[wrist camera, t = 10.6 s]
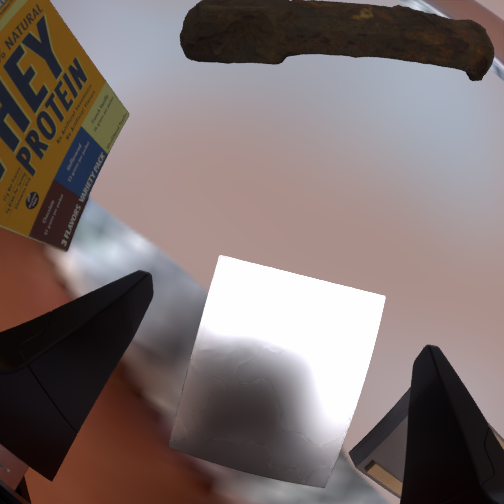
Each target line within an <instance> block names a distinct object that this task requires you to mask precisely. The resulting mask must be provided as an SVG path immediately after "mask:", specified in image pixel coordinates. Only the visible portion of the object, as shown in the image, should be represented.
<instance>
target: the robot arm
mask: <svg viewBox="0 0 504 504" xmlns="http://www.w3.org/2000/svg"><path fill="white" fill-rule="evenodd" d="M152 298H153V281H152V275H151V274H150V273H149V272H145V271H142V270H138V271H136V272H134V273H131V274H129V275H127V276H125V277H123V278H120V279H118V280H116V281H114V282H112V283H110V284H107V285H105V286H103V287H101V288H99V289H97V290H94V291H92V292H90V293H88V294H86V295H84V296H81V297H79V298H77V299H75V300H73V301H71V302H69V303H67V304H64V305H62V306H60V307H58V308H56V309H54V310H52V312H51V311H50V312H48V313H45V314H43V315H41V316H39V317H37V318H35V319H32V320H30V321H28V322H25V323H23V324H21V325H18V326H16V327H13V328H10V329H8V330H5V331H2V332H0V504H31V500H30V497H29V493H28V489H27V485H26V481H25V477H24V475H25V473H26V471H27V470H28V468H29V467H31V468H32V469H34V470H35V471H36V472H38V473H39V474H41V475H42V476H44V477H45V478H47V479H48V480H50V481H51V482H52V481H53V479H54V477H55V475H56V473H57V472H58V470H59V468H60V466H61V464H62V462H63V460H64V458H65V456H66V454H67V452H68V451H69V449H70V447H71V445H72V443H73V441H74V439H75V438H76V436H77V433H78V432H79V430H80V428H81V426H82V425H83V423H84V421H85V419H86V417H87V416H88V414H89V412H90V410H91V409H92V407H93V405H94V403H95V402H96V400H97V398H98V396H99V395H100V393H101V391H102V389H103V388H104V386H105V384H106V383H107V381H108V379H109V377H110V376H111V374H112V372H113V371H114V369H115V367H116V366H117V364H118V362H119V361H120V359H121V357H122V356H123V354H124V352H125V351H126V349H127V347H128V346H129V344H130V343H131V341H132V339H133V337H134V336H135V334H136V332H137V330H138V328H139V325H140V323H141V321H142V319H143V317H144V315H145V313H146V311H147V309H148V307H149V304H150V302H151V300H152ZM400 504H504V449H503V448H502V446H501V444H500V443H499V441H498V439H497V438H496V436H495V434H494V433H493V431H492V429H491V427H490V426H489V424H488V422H487V421H486V419H485V417H484V416H483V414H482V413H481V411H480V409H479V408H478V406H477V404H476V403H475V401H474V400H473V398H472V396H471V395H470V393H469V392H468V390H467V388H466V387H465V385H464V384H463V383H462V381H461V379H460V378H459V376H458V375H457V373H456V372H455V370H454V369H453V367H452V366H451V365H450V363H449V361H448V360H447V358H446V357H445V356H444V354H443V353H442V351H441V350H440V348H439V347H438V346H434V345H426V346H425V347H424V348H423V350H422V351H421V353H420V354H419V355H418V357H417V358H416V360H415V361H414V364H413V371H412V381H411V389H410V398H409V406H408V426H407V443H406V456H405V467H404V476H403V485H402V493H401V500H400Z"/></svg>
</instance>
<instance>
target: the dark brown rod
mask: <svg viewBox="0 0 504 504" xmlns="http://www.w3.org/2000/svg"><path fill="white" fill-rule="evenodd" d="M180 42H181V43H180V45H181V47H182V49H183V51H184V54H185V56H186V57H187V58H188V59H190V60H194V61H198V62H218V63H227V64H229V63H263V64H272V65H276V64H280V63H282V62H283V61H284V59H285V58H286V57H288V56H295V55H300V54H325V55H343V56H351V57H355V58H357V57H380V58H390V59H398V60H403V61H410V62H418V63H423V64H432V65H437V66H442V67H450V68H455V69H459V70H462V71H465V72H466V74H467V76H468V77H469V79H470V80H471V81H479V80H482V78H483V76H484V75H485V74H486V73H487V71H488V70H489V68H490V67H491V65H492V62H493V59H494V47H493V45H492V43H491V40H490V38H489V36H488V35H487V33H486V29H485V28H484V27H482V26H481V25H480V24H478V23H476V22H474V21H472V20H453V19H448V18H445V17H441V16H438V15H436V14H429V13H425V12H423V11H418V10H413V9H411V8H409V7H402V6H400V5H397V6H394V7H386V6H377V5H370V4H356V3H342V2H329V1H315V0H310V1H304V0H292V1H289V0H202V1H200V2H199V3H198V4H196V6H194V7H193V8H192V9H190V10H189V12H188V13H187V15H186V17H185V20H184V22H183V29H182V31H181V33H180Z"/></svg>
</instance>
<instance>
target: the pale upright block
mask: <svg viewBox="0 0 504 504" xmlns="http://www.w3.org/2000/svg"><path fill="white" fill-rule="evenodd" d="M384 301H385V296H382V295H378V294H374V293H369V292H366V291H362V290H358V289H354V288H350V287H345V286H342V285H337V284H333V283H329V282H325V281H321V280H317V279H313V278H309V277H305V276H301V275H297V274H293V273H289V272H285V271H281V270H277V269H273V268H269V267H266V266H262V265H258V264H254V263H250V262H245V261H242V260H238V259H234V258H230V257H226V256H223V255H220V256H219V259H218V262H217V266H216V269H215V273H214V276H213V280H212V283H211V287H210V290H209V294H208V297H207V301H206V304H205V308H204V312H203V315H202V319H201V322H200V326H199V330H198V333H197V337H196V341H195V344H194V348H193V352H192V356H191V359H190V363H189V367H188V371H187V374H186V378H185V382H184V386H183V390H182V394H181V398H180V402H179V405H178V409H177V413H176V417H175V421H174V425H173V429H172V434H171V438H170V442H169V446H168V447H170V448H172V449H175V450H178V451H180V452H183V453H186V454H189V455H191V456H194V457H197V458H200V459H203V460H206V461H209V462H212V463H216V464H219V465H222V466H226V467H229V468H232V469H236V470H240V471H243V472H247V473H251V474H255V475H259V476H263V477H267V478H272V479H276V480H281V481H286V482H291V483H297V484H302V485H308V486H314V487H321V488H325V486H326V484H327V481H328V479H329V477H330V474H331V472H332V470H333V467H334V465H335V462H336V460H337V457H338V455H339V452H340V450H341V447H342V445H343V442H344V439H345V437H346V434H347V431H348V428H349V426H350V423H351V420H352V417H353V414H354V411H355V408H356V405H357V402H358V399H359V396H360V393H361V390H362V386H363V383H364V380H365V376H366V373H367V370H368V366H369V362H370V359H371V355H372V351H373V348H374V344H375V340H376V336H377V332H378V328H379V324H380V320H381V315H382V310H383V306H384Z"/></svg>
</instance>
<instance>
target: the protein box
mask: <svg viewBox="0 0 504 504" xmlns="http://www.w3.org/2000/svg"><path fill="white" fill-rule="evenodd" d="M128 117H129V112H128V111H127V110H126V108H125V107H124V106H123V104H122V103H121V101H120V100H119V99H118V97H117V96H116V94H115V93H114V92H113V90H112V89H111V87H110V86H109V85H108V83H107V82H106V80H105V79H104V78H103V76H102V75H101V74H100V72H99V71H98V69H97V68H96V66H95V65H94V64H93V62H92V61H91V59H90V58H89V56H88V55H87V54H86V52H85V51H84V49H83V48H82V46H81V45H80V43H79V42H78V41H77V39H76V38H75V36H74V35H73V34H72V32H71V31H70V29H69V28H68V26H67V25H66V24H65V22H64V21H63V19H62V18H61V16H60V15H59V13H58V12H57V10H56V9H55V7H54V6H53V5H52V3H51V2H50V0H0V227H1V228H4V229H6V230H9V231H11V232H14V233H16V234H19V235H22V236H24V237H27V238H30V239H33V240H35V241H38V242H41V243H43V244H46V245H49V246H51V247H54V248H56V249H59V250H62V251H67V249H68V246H69V243H70V240H71V237H72V235H73V232H74V229H75V227H76V224H77V222H78V219H79V217H80V215H81V212H82V210H83V207H84V205H85V203H86V200H87V198H88V196H89V194H90V192H91V189H92V187H93V185H94V183H95V181H96V178H97V176H98V174H99V172H100V170H101V168H102V166H103V164H104V162H105V160H106V158H107V156H108V154H109V152H110V150H111V148H112V146H113V144H114V142H115V140H116V139H117V137H118V135H119V133H120V131H121V129H122V127H123V126H124V124H125V122H126V120H127V119H128Z"/></svg>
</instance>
